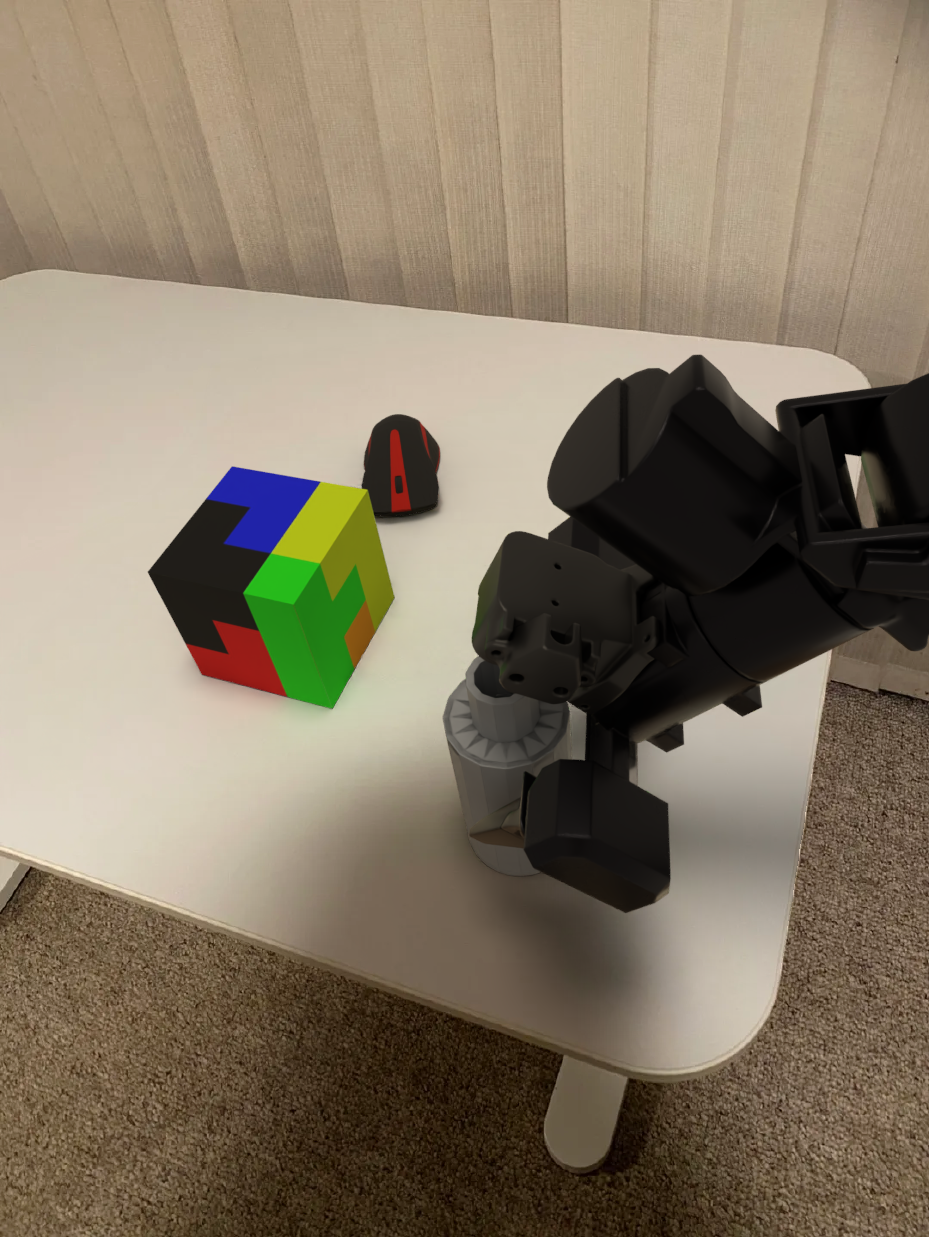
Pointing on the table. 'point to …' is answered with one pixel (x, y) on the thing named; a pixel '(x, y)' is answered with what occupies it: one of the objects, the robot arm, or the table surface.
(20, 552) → the table surface
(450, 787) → the table surface
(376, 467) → the computer mouse
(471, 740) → the flask
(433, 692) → the table surface
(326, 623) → the puzzle toy
